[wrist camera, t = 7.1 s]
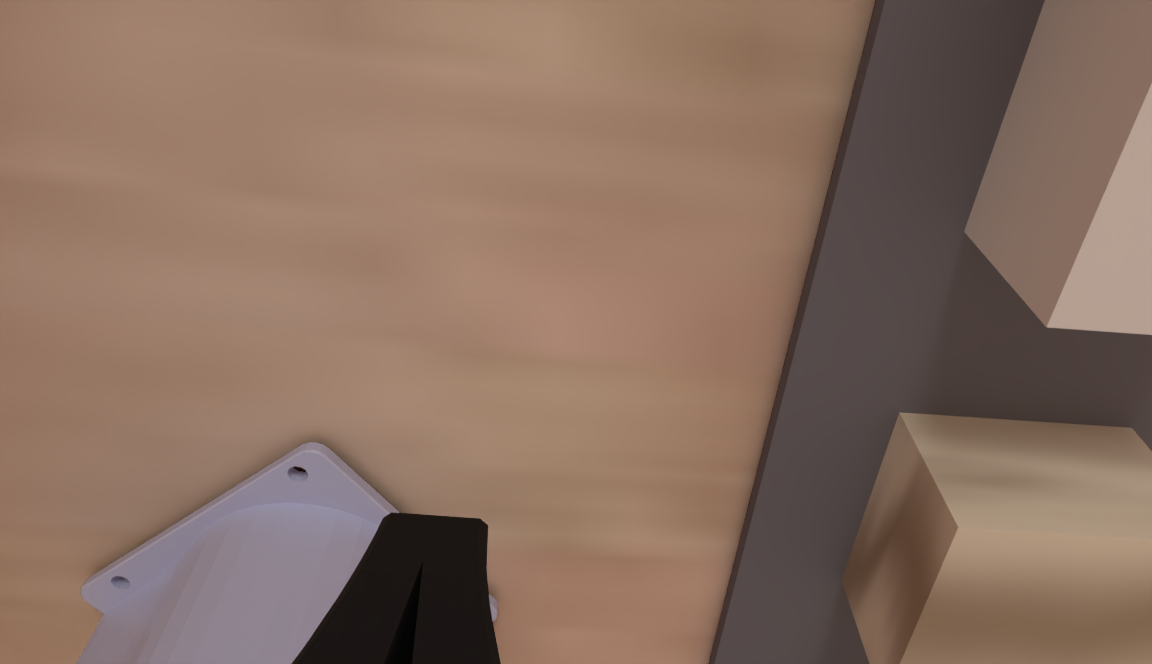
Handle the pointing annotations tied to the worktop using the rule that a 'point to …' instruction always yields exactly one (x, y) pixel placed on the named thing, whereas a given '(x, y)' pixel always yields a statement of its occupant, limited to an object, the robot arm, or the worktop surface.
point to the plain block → (1005, 545)
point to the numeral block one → (1076, 171)
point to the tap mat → (903, 324)
